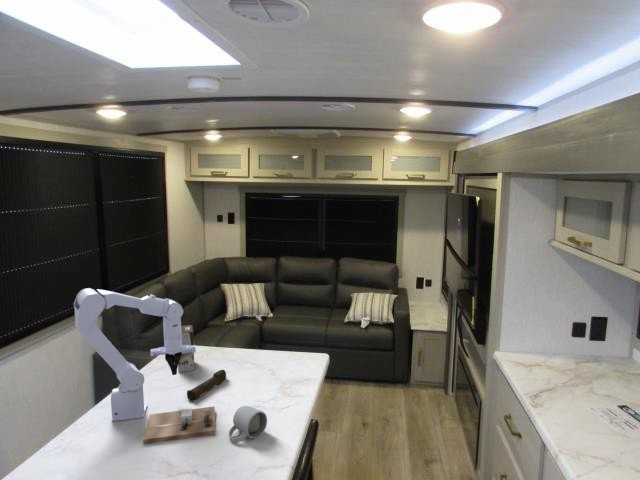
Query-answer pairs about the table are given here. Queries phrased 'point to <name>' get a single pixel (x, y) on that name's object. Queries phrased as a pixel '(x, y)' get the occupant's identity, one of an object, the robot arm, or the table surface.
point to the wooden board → (179, 426)
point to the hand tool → (207, 385)
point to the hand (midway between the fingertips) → (174, 373)
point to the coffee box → (188, 357)
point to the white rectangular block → (186, 417)
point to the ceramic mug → (248, 423)
